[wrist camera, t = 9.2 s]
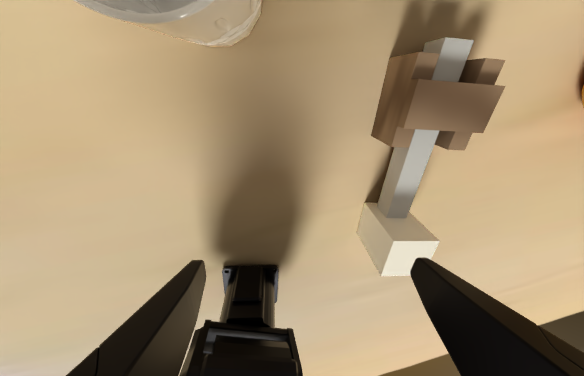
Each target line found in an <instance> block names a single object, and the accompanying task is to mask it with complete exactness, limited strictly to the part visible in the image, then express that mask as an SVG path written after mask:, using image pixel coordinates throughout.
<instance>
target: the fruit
mask: <svg viewBox="0 0 584 376" xmlns="http://www.w3.org/2000/svg"><path fill="white" fill-rule="evenodd" d="M582 103H583V107H584V86H583V88H582Z"/></svg>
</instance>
